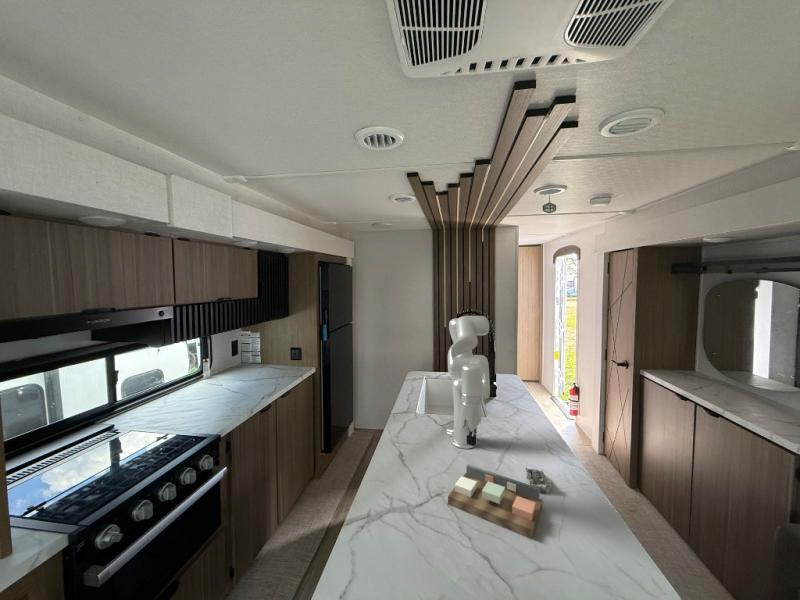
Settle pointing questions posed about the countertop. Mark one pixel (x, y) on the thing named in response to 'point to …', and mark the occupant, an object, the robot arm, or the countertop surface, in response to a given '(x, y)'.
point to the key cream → (466, 486)
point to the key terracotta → (524, 508)
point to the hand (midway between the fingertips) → (471, 444)
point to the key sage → (493, 492)
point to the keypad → (502, 511)
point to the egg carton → (538, 479)
